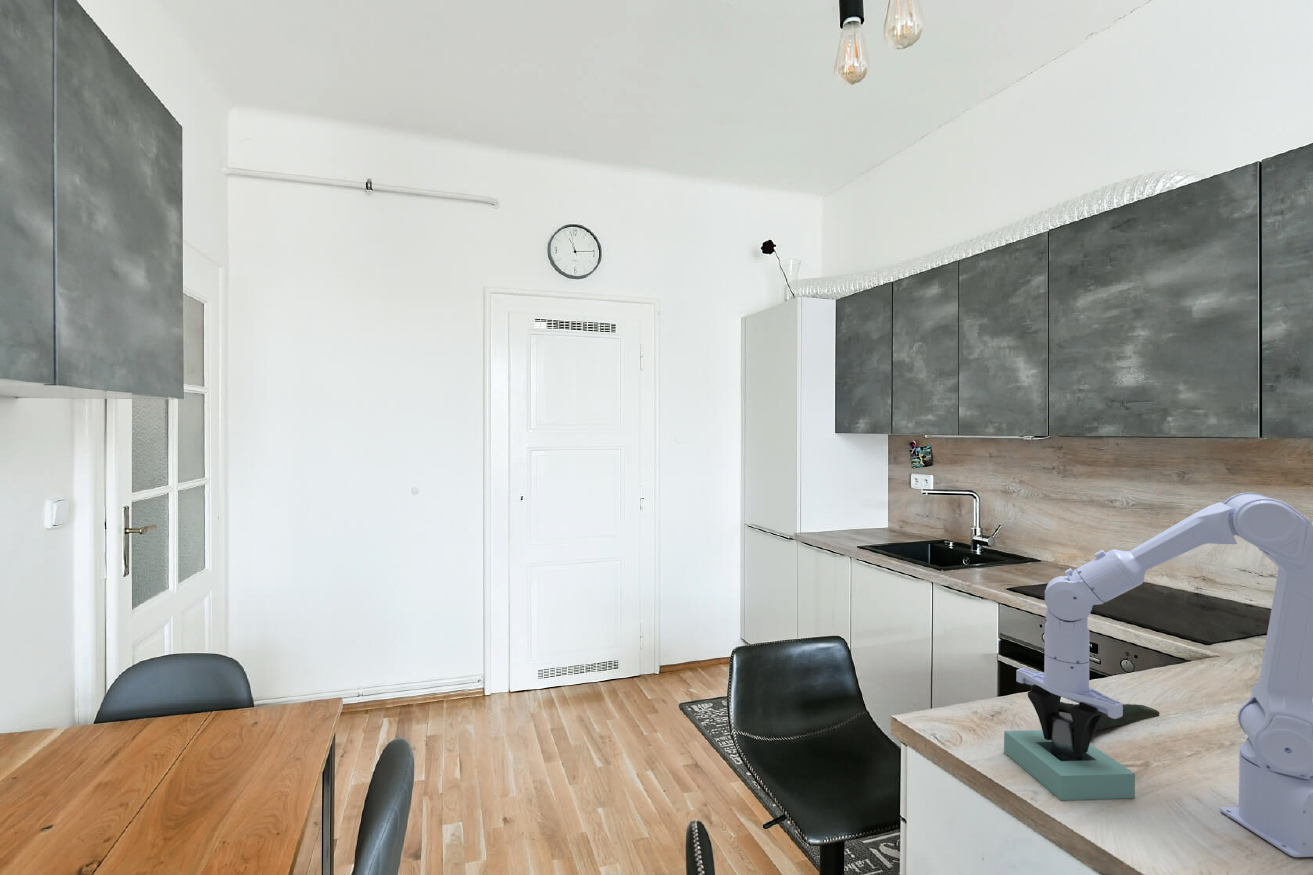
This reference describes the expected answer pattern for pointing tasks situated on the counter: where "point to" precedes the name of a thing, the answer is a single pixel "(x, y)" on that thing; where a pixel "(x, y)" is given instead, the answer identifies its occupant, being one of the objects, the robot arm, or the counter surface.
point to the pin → (1063, 737)
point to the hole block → (1069, 769)
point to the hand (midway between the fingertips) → (1065, 745)
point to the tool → (1129, 715)
